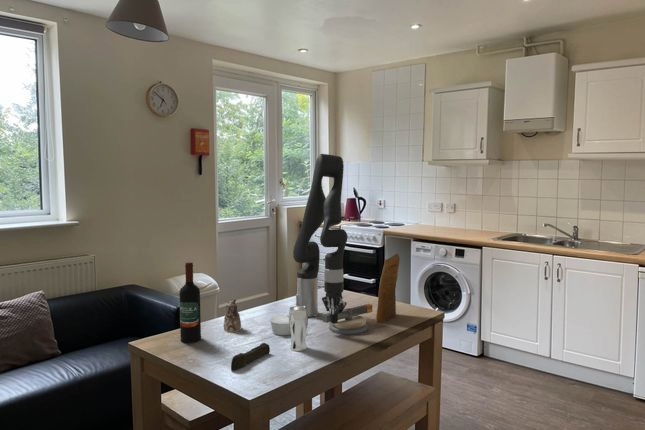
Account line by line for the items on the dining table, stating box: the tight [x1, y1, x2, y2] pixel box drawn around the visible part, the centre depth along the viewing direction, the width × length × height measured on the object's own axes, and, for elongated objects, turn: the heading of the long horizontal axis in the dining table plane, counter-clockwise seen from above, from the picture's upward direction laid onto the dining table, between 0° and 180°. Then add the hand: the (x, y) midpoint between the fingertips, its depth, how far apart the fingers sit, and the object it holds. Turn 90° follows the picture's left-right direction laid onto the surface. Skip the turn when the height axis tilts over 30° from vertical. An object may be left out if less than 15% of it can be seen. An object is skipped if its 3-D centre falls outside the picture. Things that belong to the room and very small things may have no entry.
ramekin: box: [269, 314, 291, 336], centre depth 195 cm, size 11×11×5 cm
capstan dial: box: [322, 303, 373, 330], centre depth 199 cm, size 14×25×6 cm, turn 128°
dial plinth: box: [328, 322, 369, 336], centre depth 200 cm, size 16×16×2 cm
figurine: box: [223, 299, 242, 333], centre depth 198 cm, size 7×7×12 cm
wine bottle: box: [179, 261, 202, 344], centre depth 185 cm, size 8×8×30 cm
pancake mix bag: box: [375, 253, 400, 323], centre depth 212 cm, size 7×19×28 cm, turn 146°
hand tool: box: [230, 342, 271, 371], centre depth 165 cm, size 19×4×5 cm, turn 148°
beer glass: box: [288, 305, 309, 352], centre depth 176 cm, size 7×7×15 cm
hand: (334, 323), depth 190 cm, fingers closed
